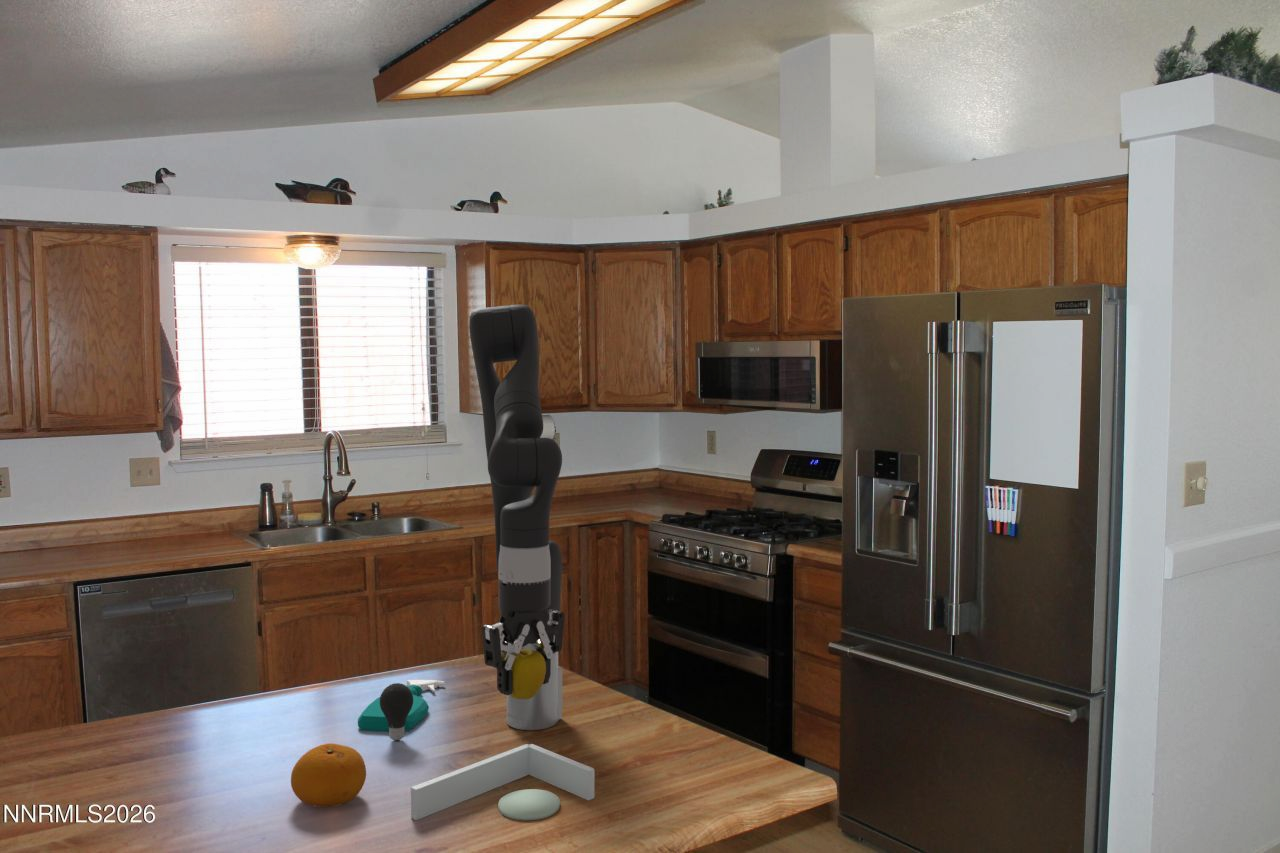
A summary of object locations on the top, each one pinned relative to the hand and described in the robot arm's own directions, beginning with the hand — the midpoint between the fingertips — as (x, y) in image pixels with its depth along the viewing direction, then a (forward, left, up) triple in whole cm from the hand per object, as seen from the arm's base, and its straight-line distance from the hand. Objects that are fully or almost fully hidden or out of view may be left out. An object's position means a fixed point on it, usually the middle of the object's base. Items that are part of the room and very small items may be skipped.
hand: (524, 687), depth 149 cm
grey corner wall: (+2, -2, -18) cm, 18 cm away
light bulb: (-2, -35, -18) cm, 39 cm away
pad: (-1, 0, -18) cm, 18 cm away
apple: (0, 0, -2) cm, 2 cm away
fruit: (+18, -23, -18) cm, 34 cm away
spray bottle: (-12, -47, -19) cm, 52 cm away
